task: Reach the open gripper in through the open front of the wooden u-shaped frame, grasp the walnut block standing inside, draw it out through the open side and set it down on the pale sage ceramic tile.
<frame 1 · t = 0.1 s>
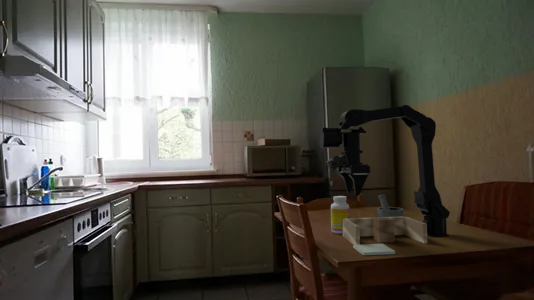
hand: (353, 194, 124), 15 cm above the table, fingers open, 9 cm apart
block: (383, 229, 119), in the wooden u-shaped frame
supplement bottle: (340, 232, 133), on the table
wooden u-shaped frame: (384, 240, 119), on the table
mortar and pestle: (389, 227, 142), on the table
tile: (373, 250, 107), on the table
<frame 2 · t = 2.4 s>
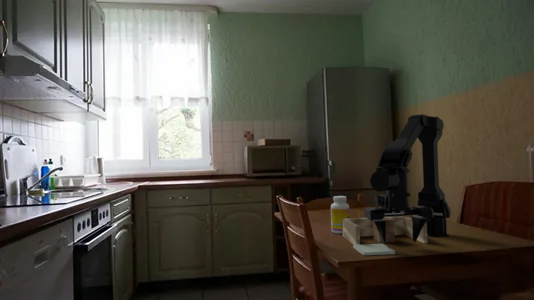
hand: (399, 242, 108), 2 cm above the table, fingers open, 9 cm apart
nothing on the table moved.
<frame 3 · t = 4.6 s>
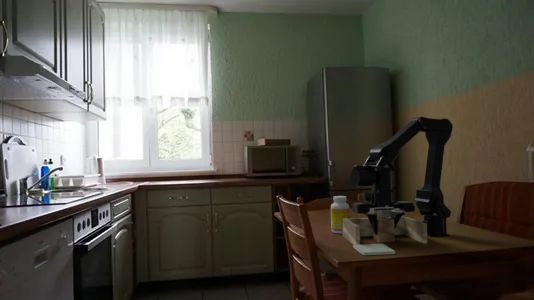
hand: (383, 234, 119), 2 cm above the table, fingers closed on block, 5 cm apart
block: (383, 229, 119), in the wooden u-shaped frame, touching gripper
everything else where it was.
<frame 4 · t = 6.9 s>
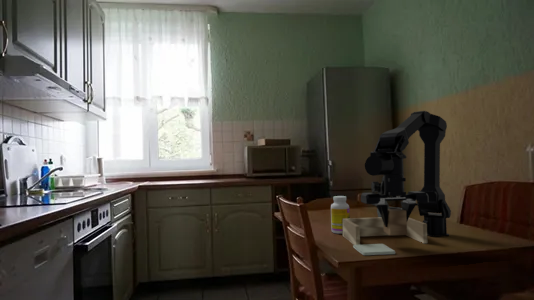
hand: (394, 226, 110), 6 cm above the table, fingers closed on block, 5 cm apart
block: (394, 221, 110), point 8 cm above the table, touching gripper
everything else where it was.
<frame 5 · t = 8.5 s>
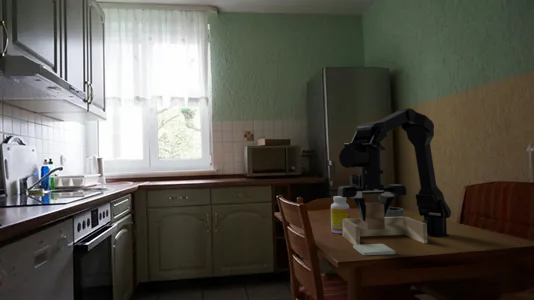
hand: (372, 220, 107), 9 cm above the table, fingers closed on block, 5 cm apart
block: (372, 215, 107), point 10 cm above the table, touching gripper
everything else where it was.
when the fingers open (4 cm above the table, at t = 9.6 s): block drops 1 cm, resting on tile.
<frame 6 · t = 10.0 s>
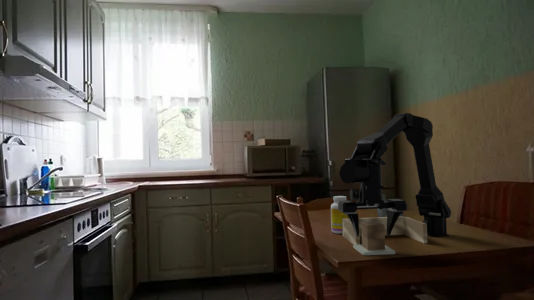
hand: (373, 235, 107), 4 cm above the table, fingers open, 9 cm apart
block: (373, 235, 107), on the tile, point 4 cm above the table
everything else where it was.
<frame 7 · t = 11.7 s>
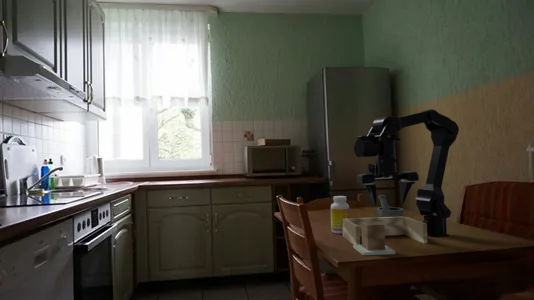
hand: (388, 204, 119), 12 cm above the table, fingers open, 9 cm apart
nothing on the table moved.
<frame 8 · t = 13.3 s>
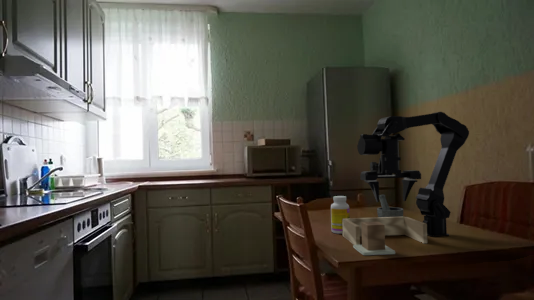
hand: (391, 201, 123), 12 cm above the table, fingers open, 9 cm apart
nothing on the table moved.
at the end: block 0.0 cm from the tile (horizontally); block point 4.3 cm above the table; block tilted 0° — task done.
